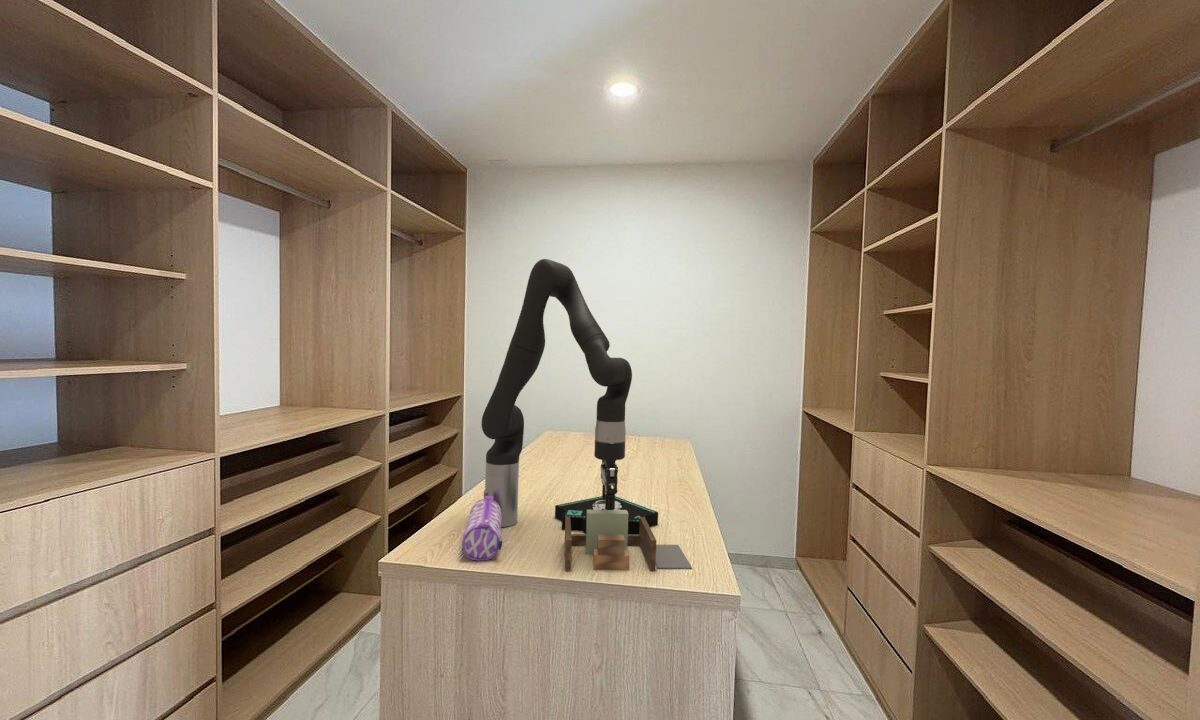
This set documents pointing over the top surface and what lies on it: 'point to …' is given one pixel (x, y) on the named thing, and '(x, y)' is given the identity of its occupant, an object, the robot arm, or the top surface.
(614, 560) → the block
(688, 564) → the felt pad
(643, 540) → the rack
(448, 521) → the top surface
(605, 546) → the upper offcut
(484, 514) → the pencil case
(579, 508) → the wall plaque
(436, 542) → the top surface
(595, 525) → the green board
